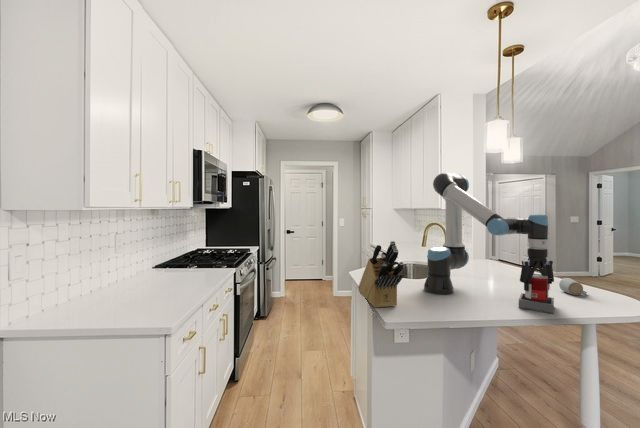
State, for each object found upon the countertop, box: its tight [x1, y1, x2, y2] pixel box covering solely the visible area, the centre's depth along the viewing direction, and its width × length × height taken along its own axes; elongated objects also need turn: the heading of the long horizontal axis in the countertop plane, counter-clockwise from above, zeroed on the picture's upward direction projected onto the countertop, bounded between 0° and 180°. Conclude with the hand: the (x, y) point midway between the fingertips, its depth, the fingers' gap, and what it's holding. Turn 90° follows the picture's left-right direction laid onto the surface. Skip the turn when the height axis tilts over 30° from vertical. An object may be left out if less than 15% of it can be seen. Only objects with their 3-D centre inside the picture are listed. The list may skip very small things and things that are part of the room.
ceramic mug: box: [558, 277, 587, 296], centre depth 163 cm, size 11×8×8 cm
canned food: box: [528, 273, 549, 301], centre depth 141 cm, size 8×8×11 cm
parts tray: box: [518, 292, 555, 315], centre depth 141 cm, size 13×13×4 cm
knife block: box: [357, 240, 404, 308], centre depth 148 cm, size 11×35×31 cm, turn 9°
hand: (536, 297), depth 141 cm, fingers closed on canned food, 8 cm apart
